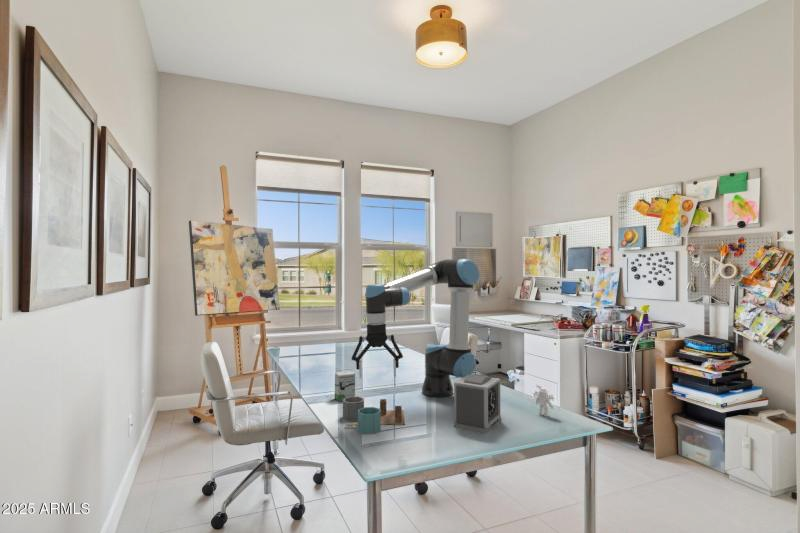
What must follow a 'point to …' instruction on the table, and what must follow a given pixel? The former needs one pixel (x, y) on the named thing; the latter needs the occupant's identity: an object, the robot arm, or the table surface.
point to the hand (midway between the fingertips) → (377, 376)
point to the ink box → (344, 385)
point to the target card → (351, 425)
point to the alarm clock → (476, 403)
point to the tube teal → (369, 420)
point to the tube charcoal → (352, 407)
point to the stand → (391, 415)
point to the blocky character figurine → (543, 400)
